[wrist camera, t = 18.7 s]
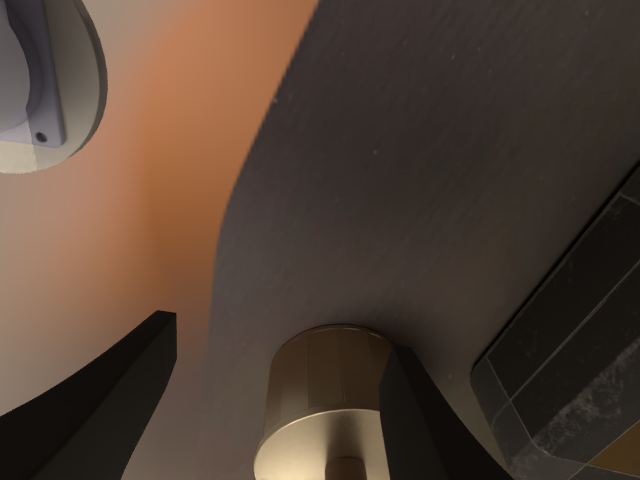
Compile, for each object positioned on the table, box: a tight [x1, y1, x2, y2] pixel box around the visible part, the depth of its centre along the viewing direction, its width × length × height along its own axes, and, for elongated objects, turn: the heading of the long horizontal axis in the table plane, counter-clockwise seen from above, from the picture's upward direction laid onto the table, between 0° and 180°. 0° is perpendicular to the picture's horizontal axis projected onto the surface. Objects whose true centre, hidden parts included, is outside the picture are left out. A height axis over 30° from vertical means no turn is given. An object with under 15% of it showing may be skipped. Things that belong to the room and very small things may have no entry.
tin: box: [263, 324, 393, 437], centre depth 26 cm, size 10×10×6 cm
